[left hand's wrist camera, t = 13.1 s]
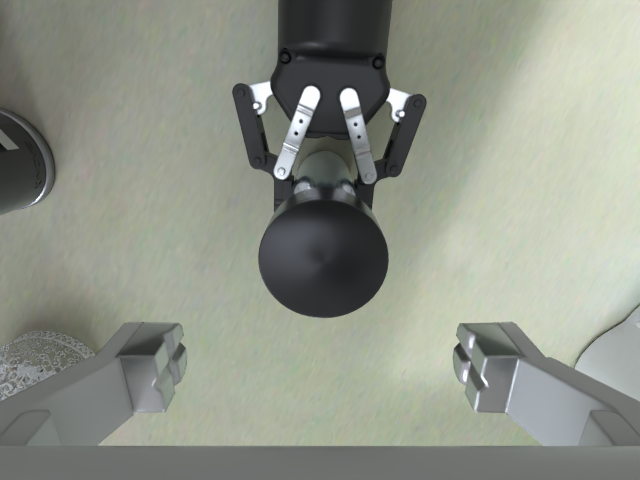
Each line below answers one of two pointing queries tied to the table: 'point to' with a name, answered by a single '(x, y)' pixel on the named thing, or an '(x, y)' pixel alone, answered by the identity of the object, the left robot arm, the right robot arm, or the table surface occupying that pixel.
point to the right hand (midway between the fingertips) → (322, 223)
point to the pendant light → (34, 371)
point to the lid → (323, 253)
